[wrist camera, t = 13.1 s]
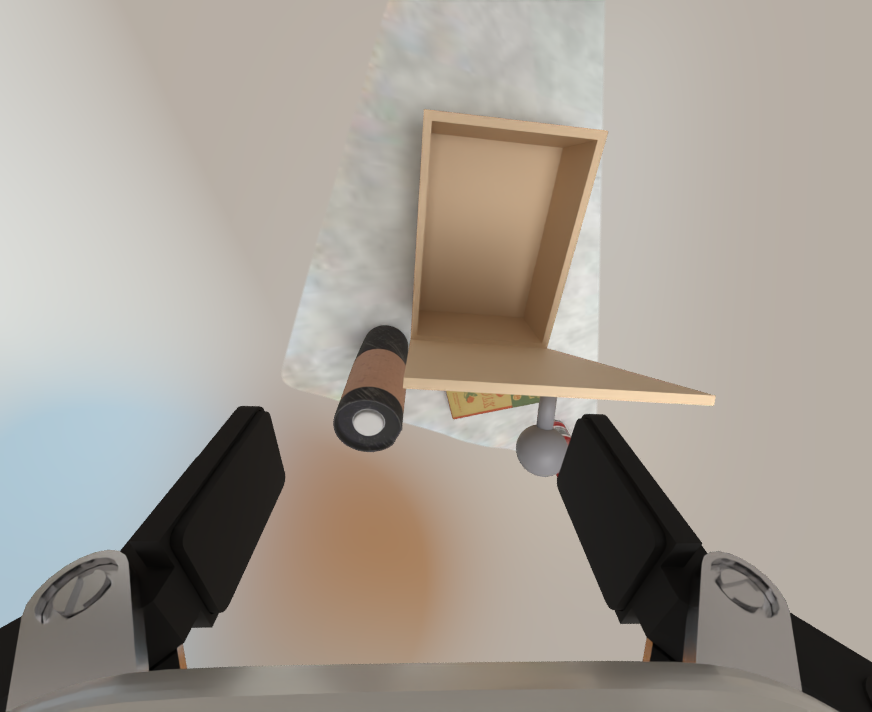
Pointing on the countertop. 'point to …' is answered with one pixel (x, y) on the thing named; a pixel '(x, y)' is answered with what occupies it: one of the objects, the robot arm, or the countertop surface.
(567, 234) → the box
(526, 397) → the carton
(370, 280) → the countertop surface
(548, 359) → the lid
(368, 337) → the travel mug
